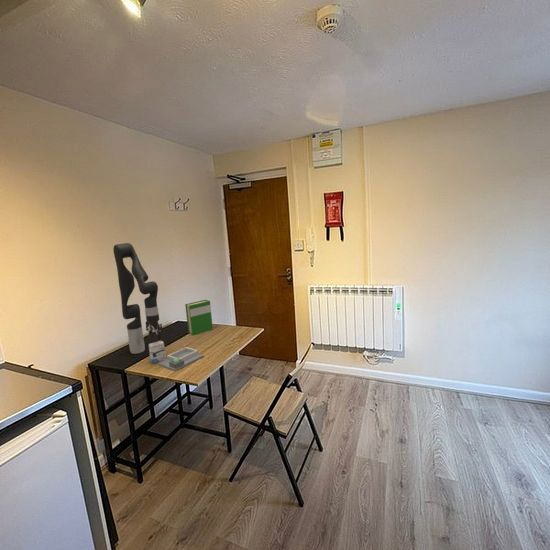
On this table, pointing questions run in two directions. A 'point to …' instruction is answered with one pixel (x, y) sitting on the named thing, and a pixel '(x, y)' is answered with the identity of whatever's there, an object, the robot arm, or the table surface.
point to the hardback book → (199, 317)
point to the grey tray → (181, 358)
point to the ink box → (157, 351)
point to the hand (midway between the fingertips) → (155, 338)
